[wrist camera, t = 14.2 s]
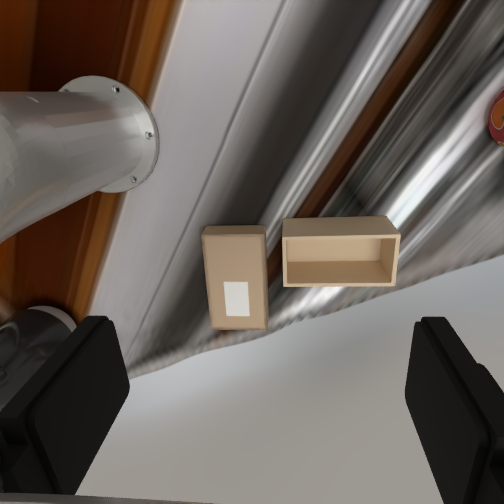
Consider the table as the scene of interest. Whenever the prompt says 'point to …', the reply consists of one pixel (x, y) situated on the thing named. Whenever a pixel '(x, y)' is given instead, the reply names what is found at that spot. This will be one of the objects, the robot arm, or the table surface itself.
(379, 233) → the box
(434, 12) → the table surface
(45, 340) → the grey egg-shaped speaker
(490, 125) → the smoothie
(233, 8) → the table surface
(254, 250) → the lid
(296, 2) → the table surface
